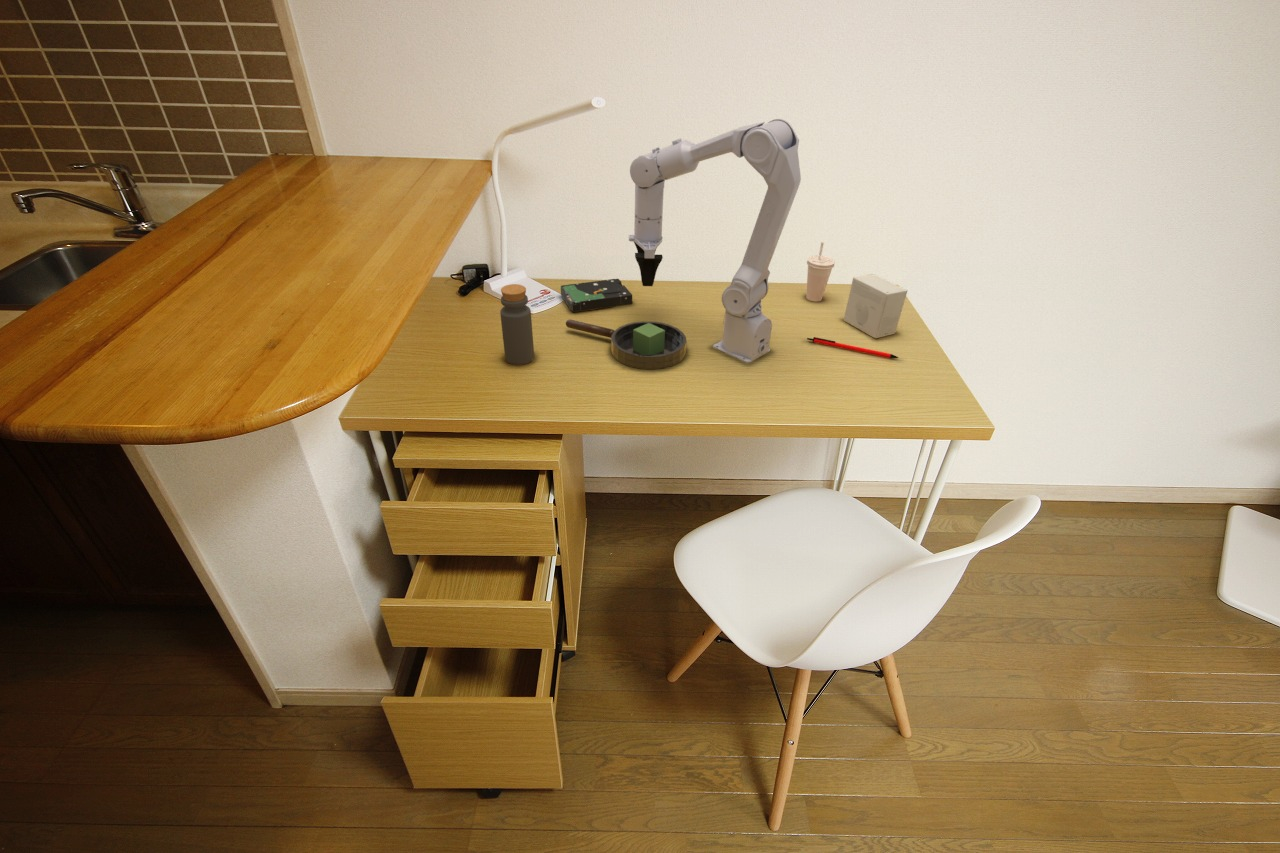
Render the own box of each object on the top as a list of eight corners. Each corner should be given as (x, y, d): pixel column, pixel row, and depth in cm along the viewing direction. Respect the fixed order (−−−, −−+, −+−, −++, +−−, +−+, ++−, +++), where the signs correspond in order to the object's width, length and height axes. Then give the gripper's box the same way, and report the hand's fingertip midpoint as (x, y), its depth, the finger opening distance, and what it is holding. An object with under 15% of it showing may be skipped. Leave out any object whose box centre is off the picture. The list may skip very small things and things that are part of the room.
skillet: (700, 352, 137) (701, 339, 135) (649, 379, 128) (649, 364, 126) (647, 327, 145) (647, 314, 144) (596, 350, 136) (595, 337, 134)
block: (664, 350, 136) (665, 330, 134) (648, 358, 134) (649, 337, 131) (648, 343, 139) (648, 322, 136) (632, 350, 136) (633, 329, 133)
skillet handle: (617, 336, 139) (617, 328, 138) (613, 340, 138) (613, 332, 137) (568, 324, 143) (568, 317, 142) (564, 328, 141) (563, 320, 140)
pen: (807, 339, 142) (808, 334, 142) (898, 358, 136) (900, 353, 136) (806, 341, 142) (807, 336, 141) (898, 360, 136) (899, 355, 135)
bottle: (538, 353, 135) (533, 284, 126) (527, 367, 130) (521, 297, 122) (512, 349, 136) (505, 281, 127) (500, 362, 131) (492, 292, 123)
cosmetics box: (896, 333, 146) (909, 289, 140) (875, 339, 143) (887, 294, 137) (863, 314, 153) (873, 272, 147) (842, 320, 151) (851, 276, 145)
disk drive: (617, 288, 163) (560, 295, 158) (618, 277, 161) (559, 284, 156) (632, 305, 155) (572, 313, 150) (633, 294, 153) (572, 302, 149)
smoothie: (795, 294, 162) (805, 238, 154) (818, 291, 164) (829, 236, 155) (808, 305, 157) (819, 248, 149) (832, 302, 159) (844, 245, 151)
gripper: (628, 204, 140) (627, 265, 148) (630, 227, 128) (629, 292, 136) (661, 205, 140) (658, 265, 148) (666, 227, 129) (663, 292, 136)
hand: (646, 278), depth 142 cm, fingers open, 7 cm apart
